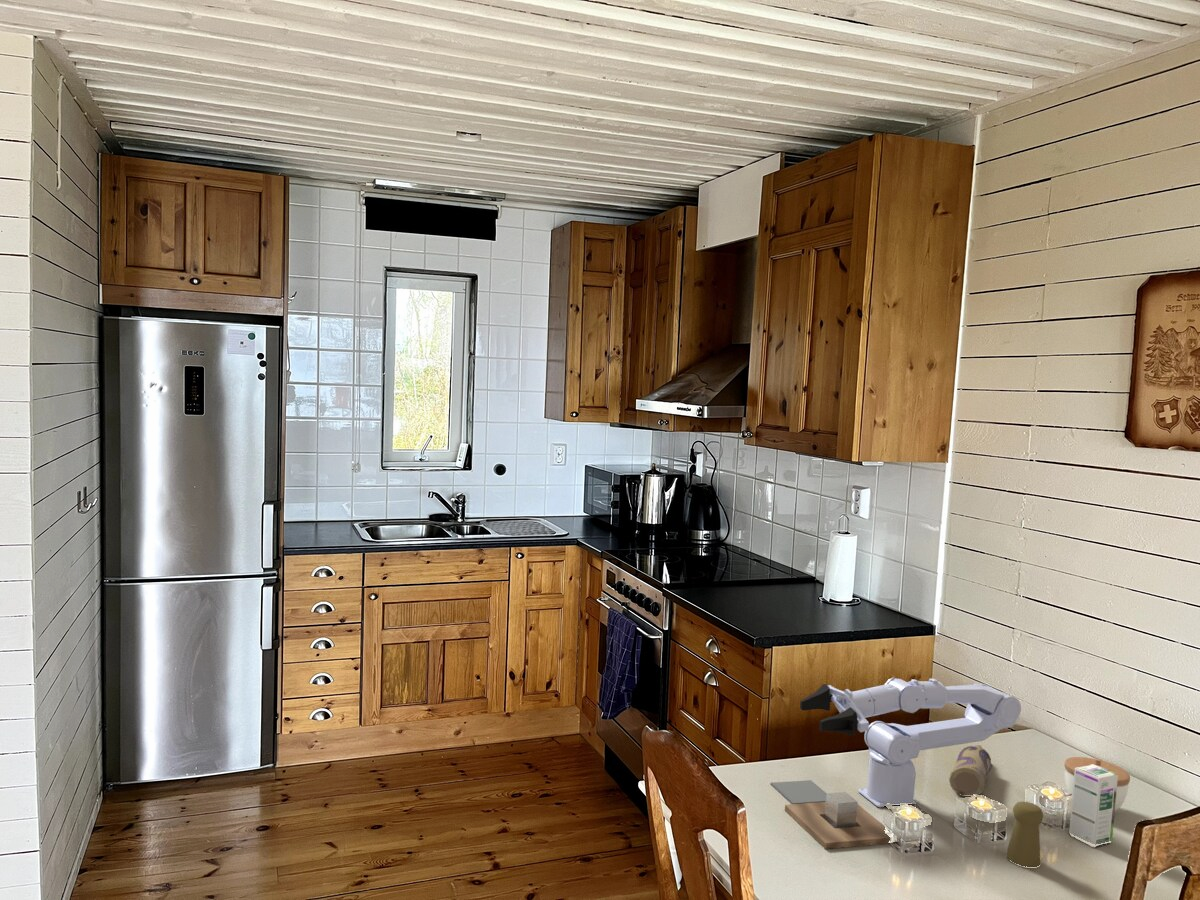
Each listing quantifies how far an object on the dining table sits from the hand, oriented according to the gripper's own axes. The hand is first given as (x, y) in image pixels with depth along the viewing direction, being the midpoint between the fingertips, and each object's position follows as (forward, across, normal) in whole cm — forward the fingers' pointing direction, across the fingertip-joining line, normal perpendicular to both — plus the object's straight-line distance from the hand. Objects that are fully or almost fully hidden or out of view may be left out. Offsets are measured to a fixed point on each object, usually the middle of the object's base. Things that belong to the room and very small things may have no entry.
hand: (810, 715), depth 188 cm
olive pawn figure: (-28, +33, +18) cm, 47 cm away
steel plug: (0, +14, +17) cm, 22 cm away
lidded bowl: (-62, +18, +26) cm, 70 cm away
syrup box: (-49, +29, +22) cm, 61 cm away
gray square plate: (0, -1, +20) cm, 20 cm away
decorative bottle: (-45, +1, +28) cm, 53 cm away
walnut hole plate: (0, +14, +17) cm, 22 cm away
